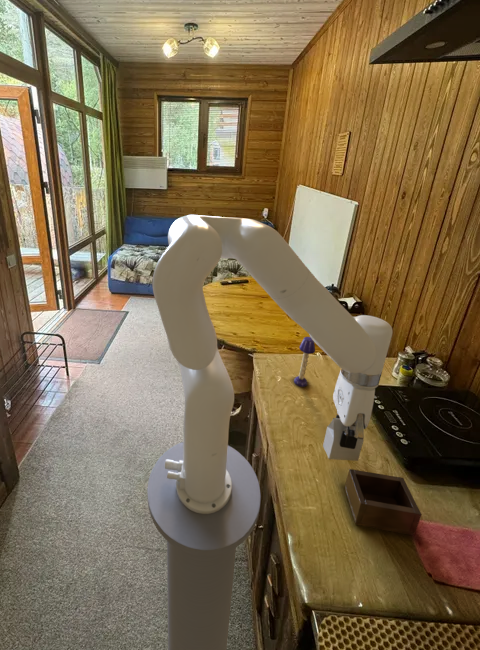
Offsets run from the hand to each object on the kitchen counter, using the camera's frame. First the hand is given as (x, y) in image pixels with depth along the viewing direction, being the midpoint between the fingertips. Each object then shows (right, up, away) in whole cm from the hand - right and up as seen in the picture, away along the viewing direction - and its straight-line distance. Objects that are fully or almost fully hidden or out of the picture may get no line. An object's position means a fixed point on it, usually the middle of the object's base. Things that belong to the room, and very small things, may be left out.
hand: (343, 437), depth 72 cm
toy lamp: (+1, +2, +29) cm, 30 cm away
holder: (+3, -10, -9) cm, 14 cm away
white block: (0, -5, +1) cm, 5 cm away
